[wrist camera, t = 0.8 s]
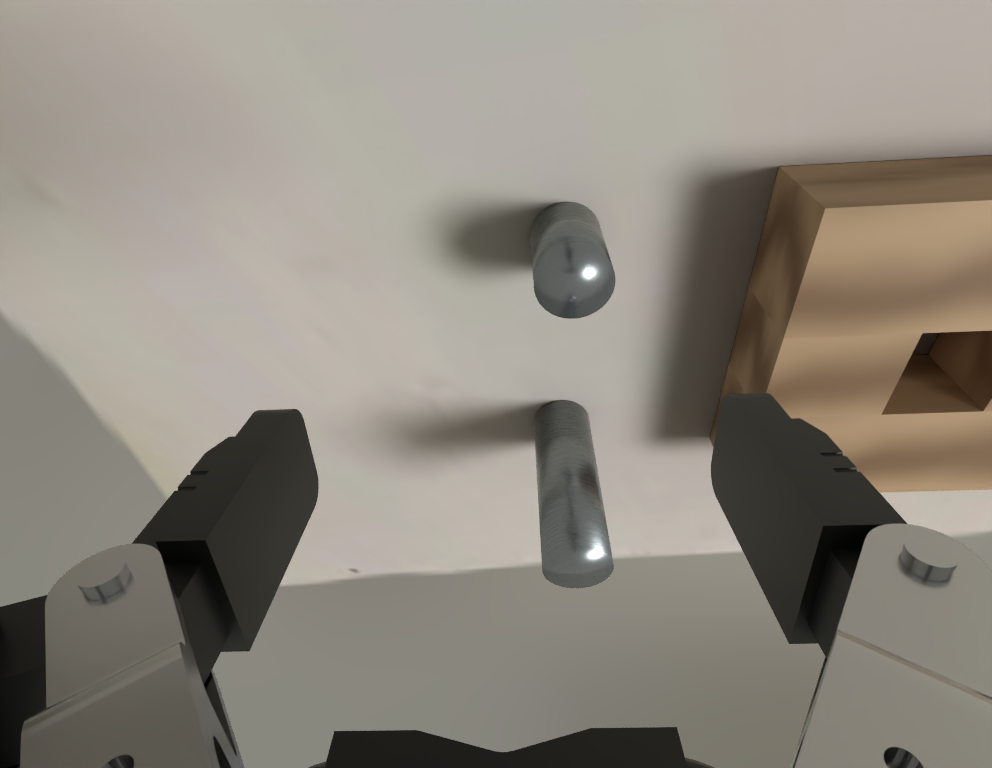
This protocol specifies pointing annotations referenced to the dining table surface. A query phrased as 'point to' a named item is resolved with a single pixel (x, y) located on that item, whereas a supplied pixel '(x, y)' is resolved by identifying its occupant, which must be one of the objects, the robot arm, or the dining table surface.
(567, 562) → the long pin
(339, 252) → the dining table surface
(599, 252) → the short pin
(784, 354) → the block
